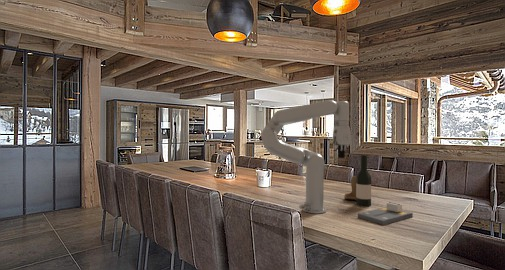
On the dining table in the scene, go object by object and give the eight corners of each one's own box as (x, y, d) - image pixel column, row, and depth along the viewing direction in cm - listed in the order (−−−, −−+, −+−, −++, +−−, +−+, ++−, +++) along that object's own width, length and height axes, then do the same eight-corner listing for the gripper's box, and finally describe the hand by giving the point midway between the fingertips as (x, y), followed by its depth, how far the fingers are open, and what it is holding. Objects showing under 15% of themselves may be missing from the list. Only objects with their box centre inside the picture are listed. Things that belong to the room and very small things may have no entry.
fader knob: (397, 212, 151) (397, 204, 151) (386, 209, 156) (386, 202, 156) (401, 211, 154) (401, 203, 153) (391, 208, 159) (391, 201, 159)
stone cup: (368, 198, 193) (369, 175, 193) (370, 202, 181) (370, 178, 181) (344, 196, 197) (344, 174, 197) (344, 200, 186) (344, 176, 186)
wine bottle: (361, 207, 171) (362, 154, 170) (353, 203, 179) (353, 153, 178) (374, 206, 173) (374, 154, 173) (365, 202, 181) (365, 153, 181)
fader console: (383, 225, 138) (383, 220, 138) (357, 217, 150) (357, 213, 150) (412, 216, 152) (412, 212, 152) (387, 210, 164) (387, 206, 164)
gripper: (337, 123, 154) (337, 159, 155) (356, 124, 162) (356, 157, 163) (326, 124, 161) (326, 157, 161) (345, 124, 169) (345, 156, 169)
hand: (341, 157), depth 162 cm, fingers closed
